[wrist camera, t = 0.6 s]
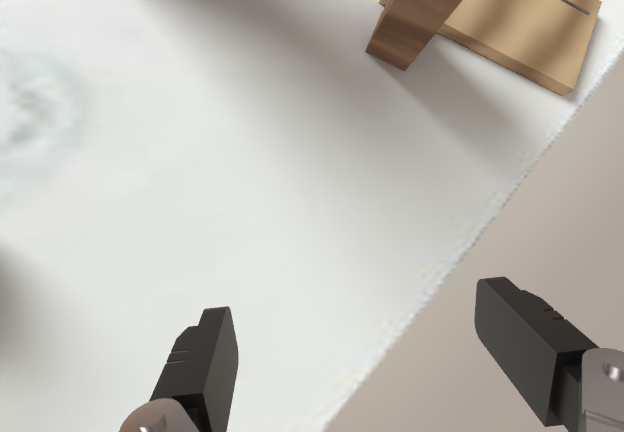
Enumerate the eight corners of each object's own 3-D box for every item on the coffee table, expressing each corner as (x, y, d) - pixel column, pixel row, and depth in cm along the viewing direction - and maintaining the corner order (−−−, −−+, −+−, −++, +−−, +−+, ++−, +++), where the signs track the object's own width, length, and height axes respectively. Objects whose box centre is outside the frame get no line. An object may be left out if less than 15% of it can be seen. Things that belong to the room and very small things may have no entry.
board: (378, 2, 38) (384, -8, 36) (415, -84, 40) (422, -97, 38) (562, 95, 40) (574, 89, 39) (589, 10, 42) (602, 1, 40)
